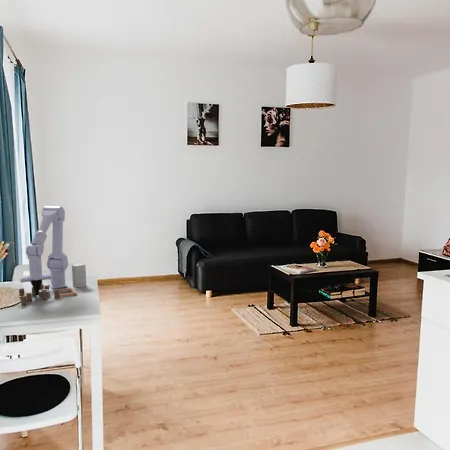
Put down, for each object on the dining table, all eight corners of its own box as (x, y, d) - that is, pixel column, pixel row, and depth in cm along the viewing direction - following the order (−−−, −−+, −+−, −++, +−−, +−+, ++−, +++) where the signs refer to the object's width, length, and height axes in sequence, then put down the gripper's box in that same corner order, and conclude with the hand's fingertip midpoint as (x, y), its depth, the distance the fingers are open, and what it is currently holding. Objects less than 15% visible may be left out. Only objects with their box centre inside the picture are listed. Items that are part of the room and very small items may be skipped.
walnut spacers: (15, 294, 242) (15, 287, 241) (53, 289, 251) (53, 282, 251) (21, 305, 224) (21, 297, 224) (61, 300, 234) (61, 292, 233)
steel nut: (38, 295, 240) (37, 289, 240) (48, 294, 243) (48, 288, 243) (39, 298, 235) (39, 292, 235) (50, 297, 238) (50, 291, 238)
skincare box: (82, 284, 262) (82, 263, 261) (86, 285, 259) (85, 264, 258) (72, 286, 258) (71, 264, 257) (76, 288, 255) (75, 266, 254)
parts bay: (54, 292, 247) (54, 290, 247) (71, 290, 251) (71, 287, 251) (59, 297, 238) (59, 295, 238) (76, 295, 242) (76, 292, 242)
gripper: (20, 271, 228) (22, 298, 230) (52, 268, 236) (53, 294, 238) (18, 268, 234) (20, 295, 236) (49, 265, 242) (50, 291, 244)
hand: (36, 294), depth 237 cm, fingers closed
